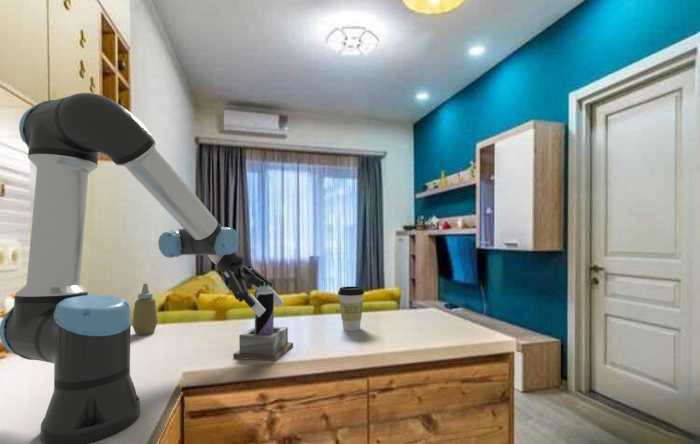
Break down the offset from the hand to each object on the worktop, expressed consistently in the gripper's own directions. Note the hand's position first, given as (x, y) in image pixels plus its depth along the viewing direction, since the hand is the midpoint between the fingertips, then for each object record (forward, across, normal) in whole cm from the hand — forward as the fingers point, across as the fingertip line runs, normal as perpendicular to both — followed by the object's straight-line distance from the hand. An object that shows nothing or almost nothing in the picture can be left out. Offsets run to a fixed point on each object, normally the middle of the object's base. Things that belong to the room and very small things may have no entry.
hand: (272, 309), depth 107 cm
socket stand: (+7, 0, -11) cm, 13 cm away
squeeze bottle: (-30, -11, -49) cm, 58 cm away
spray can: (+6, 0, -10) cm, 12 cm away
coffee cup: (+22, -30, +3) cm, 37 cm away
